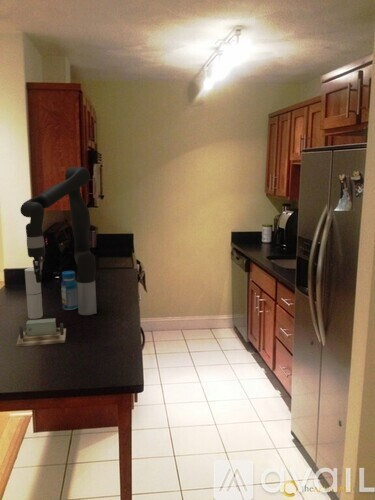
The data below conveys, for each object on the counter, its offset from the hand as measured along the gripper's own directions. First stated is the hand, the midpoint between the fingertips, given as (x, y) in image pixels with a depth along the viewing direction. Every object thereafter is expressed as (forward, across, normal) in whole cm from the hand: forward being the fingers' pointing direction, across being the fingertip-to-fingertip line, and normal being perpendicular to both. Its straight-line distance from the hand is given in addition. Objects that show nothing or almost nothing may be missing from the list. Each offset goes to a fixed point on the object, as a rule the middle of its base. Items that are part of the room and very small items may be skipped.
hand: (39, 280), depth 203 cm
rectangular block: (+23, -12, 0) cm, 26 cm away
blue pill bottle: (+25, +28, -12) cm, 40 cm away
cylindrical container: (+24, +19, +5) cm, 31 cm away
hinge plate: (+24, -12, 0) cm, 27 cm away
